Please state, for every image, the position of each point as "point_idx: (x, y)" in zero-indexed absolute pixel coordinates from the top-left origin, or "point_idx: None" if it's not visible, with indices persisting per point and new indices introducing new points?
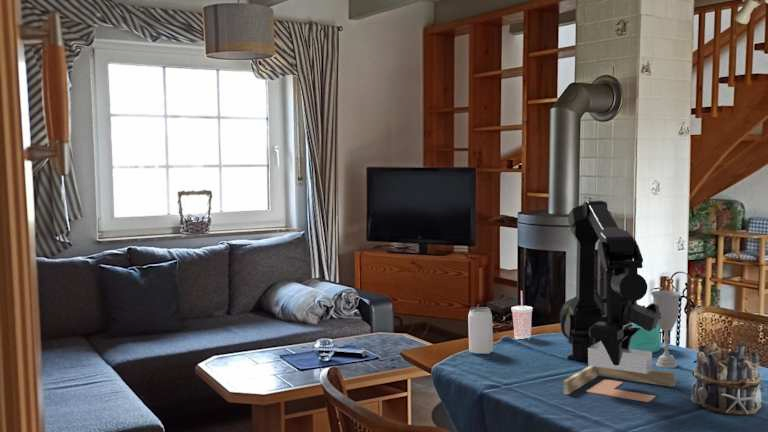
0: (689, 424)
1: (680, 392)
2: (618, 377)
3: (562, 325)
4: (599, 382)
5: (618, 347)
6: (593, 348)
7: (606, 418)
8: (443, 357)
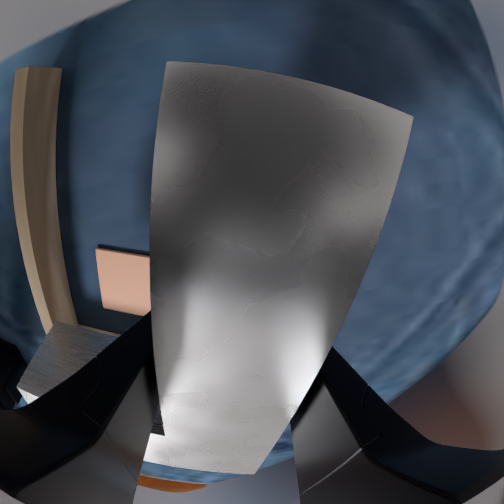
0: (467, 3)
1: (117, 20)
2: (63, 272)
3: None
4: (142, 315)
5: (401, 419)
6: (259, 465)
7: (479, 224)
8: (165, 480)
